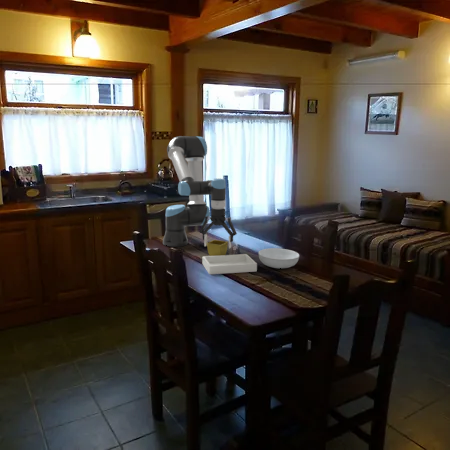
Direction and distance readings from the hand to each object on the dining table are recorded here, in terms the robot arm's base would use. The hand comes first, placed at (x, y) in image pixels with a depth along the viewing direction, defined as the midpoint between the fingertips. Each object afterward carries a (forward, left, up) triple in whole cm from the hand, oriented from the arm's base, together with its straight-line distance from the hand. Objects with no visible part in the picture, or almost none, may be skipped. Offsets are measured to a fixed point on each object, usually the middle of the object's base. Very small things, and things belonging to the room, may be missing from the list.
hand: (217, 246), depth 231 cm
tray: (+17, +2, -7) cm, 18 cm away
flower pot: (0, 0, -7) cm, 7 cm away
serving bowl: (+19, +28, -7) cm, 34 cm away
